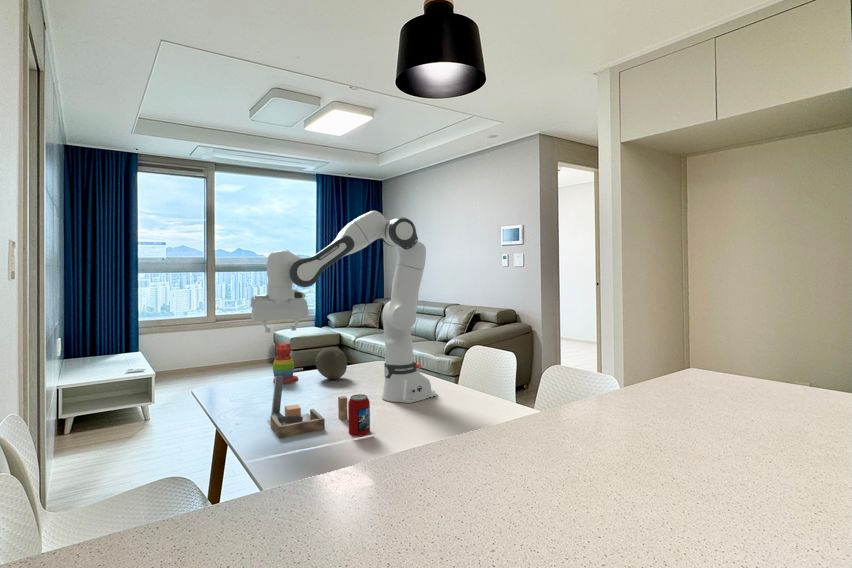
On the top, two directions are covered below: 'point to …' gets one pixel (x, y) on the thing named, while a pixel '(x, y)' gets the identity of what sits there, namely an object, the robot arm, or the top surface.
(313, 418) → the wooden tray
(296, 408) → the block
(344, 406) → the plain rod
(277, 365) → the stacking bear
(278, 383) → the hook tool
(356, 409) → the beverage can
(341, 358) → the cantaloupe
